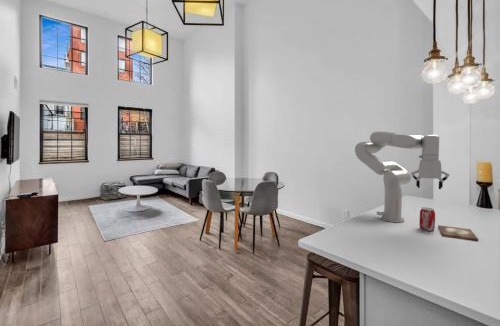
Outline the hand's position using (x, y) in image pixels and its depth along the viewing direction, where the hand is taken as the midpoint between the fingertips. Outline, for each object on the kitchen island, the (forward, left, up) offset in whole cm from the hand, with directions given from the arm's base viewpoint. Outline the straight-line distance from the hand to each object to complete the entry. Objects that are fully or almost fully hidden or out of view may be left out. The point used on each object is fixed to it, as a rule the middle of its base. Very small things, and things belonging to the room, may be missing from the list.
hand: (429, 188), depth 137 cm
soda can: (0, 0, -24) cm, 24 cm away
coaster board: (+13, 0, -24) cm, 27 cm away
